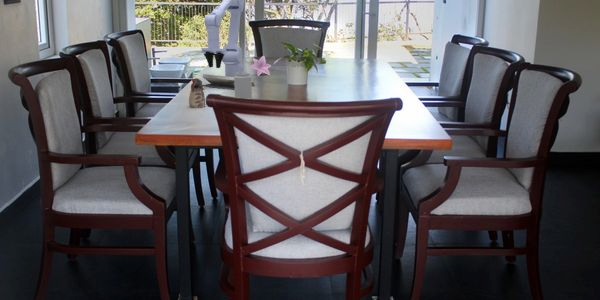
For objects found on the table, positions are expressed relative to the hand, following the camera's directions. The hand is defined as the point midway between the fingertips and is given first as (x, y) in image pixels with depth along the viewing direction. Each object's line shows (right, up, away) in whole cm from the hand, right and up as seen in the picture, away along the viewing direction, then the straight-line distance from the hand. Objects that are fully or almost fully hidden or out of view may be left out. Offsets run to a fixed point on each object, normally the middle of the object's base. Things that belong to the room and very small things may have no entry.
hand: (214, 67), depth 344 cm
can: (+17, -18, -34) cm, 42 cm away
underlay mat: (+6, -9, +4) cm, 11 cm away
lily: (+20, 0, +40) cm, 45 cm away
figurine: (-1, -22, -47) cm, 52 cm away
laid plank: (+8, -8, +7) cm, 13 cm away
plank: (+4, -7, +1) cm, 8 cm away
